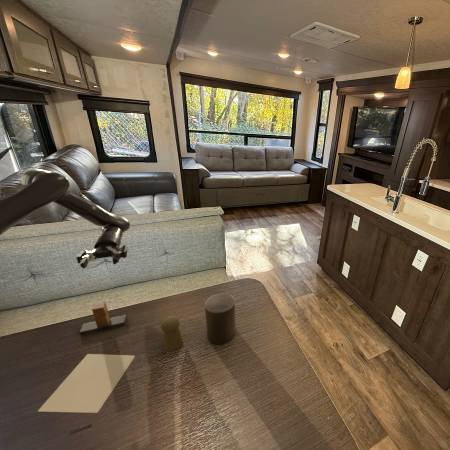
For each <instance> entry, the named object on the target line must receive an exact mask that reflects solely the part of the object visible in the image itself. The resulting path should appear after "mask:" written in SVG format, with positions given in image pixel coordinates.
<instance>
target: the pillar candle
mask: <svg viewBox="0 0 450 450" xmlns="http://www.w3.org/2000/svg"><path fill="white" fill-rule="evenodd" d="M235 299H236V298H235V297H234V296H233V295H232V294H228V293H217V294H213V295H210V297H208V298H207V300H206V301H205V303H204V312H205V313H204V314H205V325H206V327H205V328H206V336H207V340H208V341H209V342H210V343H211V344H214V345H224V344H227V343H229V342H231V340H233V339H234V337H235V336H236V332H237V328H236V326H237V325H236V300H235ZM234 335H235V336H234Z"/></svg>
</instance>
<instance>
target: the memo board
mask: <svg viewBox="0 0 450 450" xmlns="http://www.w3.org/2000/svg"><path fill="white" fill-rule="evenodd" d="M135 357H136V355H127V354H101V353H86V355H85V356H84V357H83V359H82V360H80V362H79V363H78V364H77V365H76V366H75V367H74V369H73V370H72V371H71V372H70V373H69V375H67V376H66V378H65V379H64V380H63V381H62V382H61V384H60V385H59V386H58V387H57V388H56V389H55V390H54V391H53V393H52V394H51V395H50V396H49V397H48V398H47V400H45V402H44V403H43V404H42V405H41V406H40V407H39V409H38V410H37V412H38V413H74V414H75V413H78V414H98V413H99V412H100V411H101V409H102V407H103V406H104V404H105V402H106V401H107V400H108V398H109V397H110V395H111V394H112V392H113V391H114V389H115V388H116V387H117V385H118V383H119V382H120V380H121V378H122V377H123V376H124V374H125V373H126V371H127V370H128V368H129V366H130V365H131V364H132V362H133V360H134V359H135Z"/></svg>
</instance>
